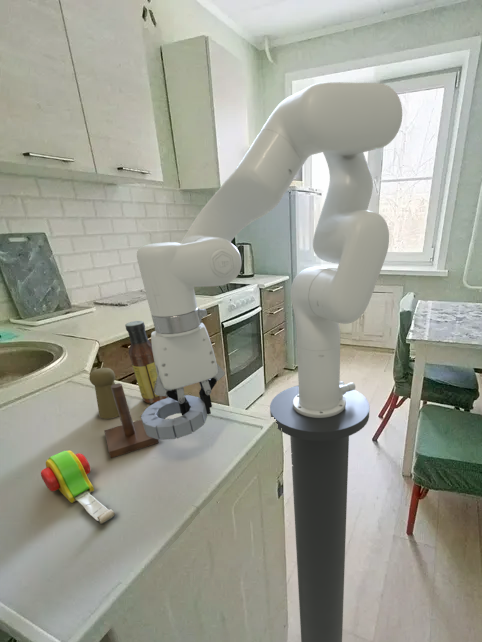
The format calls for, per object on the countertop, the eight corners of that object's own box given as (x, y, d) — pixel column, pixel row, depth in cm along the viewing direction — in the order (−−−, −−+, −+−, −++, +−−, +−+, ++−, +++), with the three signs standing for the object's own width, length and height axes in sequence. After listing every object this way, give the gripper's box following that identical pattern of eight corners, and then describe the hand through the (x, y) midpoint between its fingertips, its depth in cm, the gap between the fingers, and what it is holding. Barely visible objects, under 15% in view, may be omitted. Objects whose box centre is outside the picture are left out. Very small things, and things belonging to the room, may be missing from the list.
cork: (107, 421, 80) (93, 377, 75) (94, 414, 84) (80, 371, 79) (131, 410, 85) (120, 368, 80) (118, 403, 88) (106, 362, 83)
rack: (150, 423, 79) (136, 372, 73) (158, 442, 72) (144, 387, 66) (106, 436, 75) (88, 383, 69) (110, 458, 68) (92, 401, 62)
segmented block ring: (196, 400, 73) (194, 389, 72) (215, 425, 64) (212, 413, 63) (140, 418, 68) (136, 407, 67) (152, 447, 59) (148, 434, 58)
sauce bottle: (168, 391, 93) (151, 317, 84) (169, 401, 87) (151, 324, 79) (142, 396, 91) (122, 321, 82) (141, 407, 86) (120, 328, 77)
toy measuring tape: (76, 463, 67) (65, 434, 64) (128, 509, 55) (118, 477, 52) (39, 482, 62) (25, 451, 60) (87, 536, 51) (73, 502, 48)
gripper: (215, 308, 66) (229, 394, 74) (122, 327, 59) (150, 419, 67) (230, 316, 60) (244, 409, 68) (129, 338, 53) (158, 438, 61)
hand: (197, 413), depth 68 cm, fingers closed on segmented block ring, 3 cm apart
